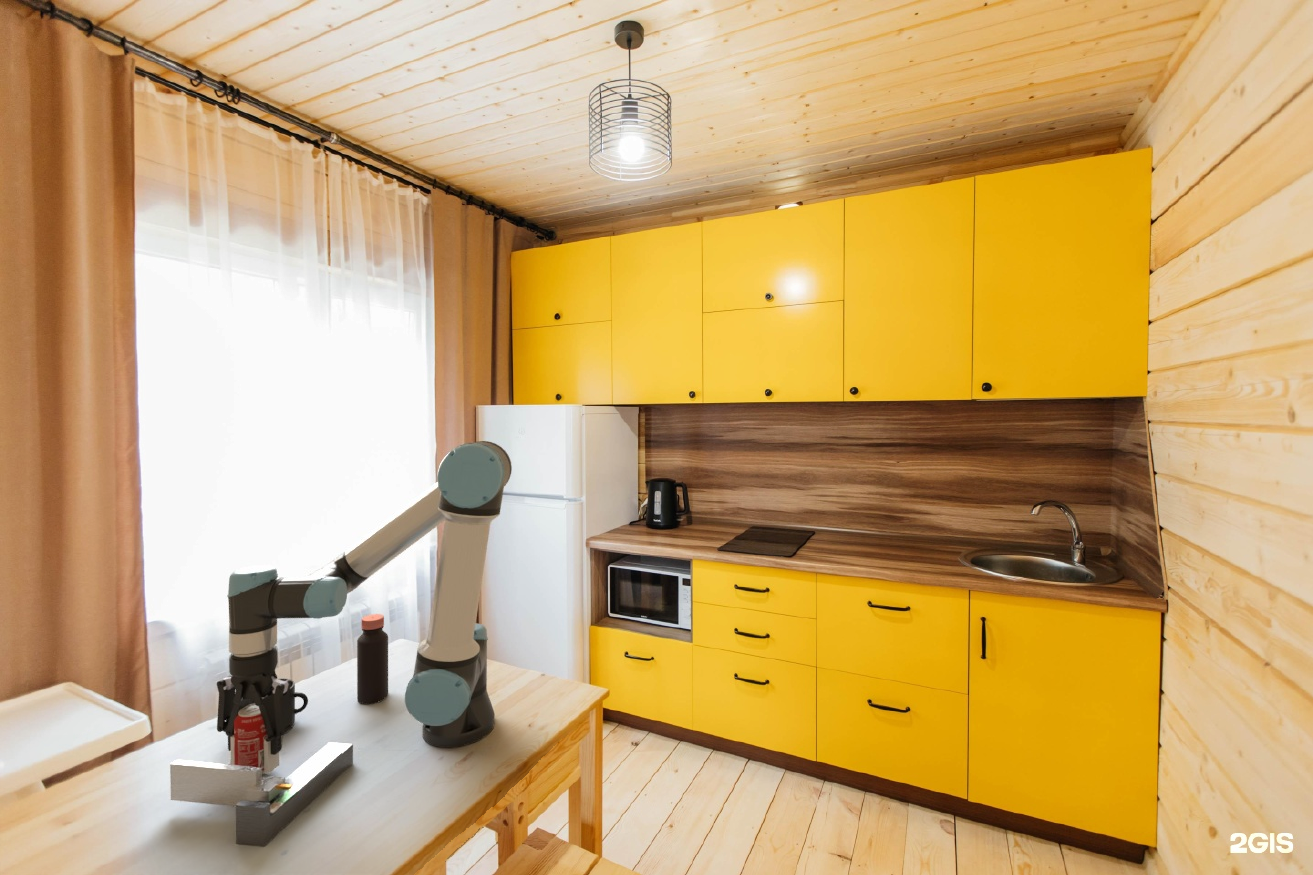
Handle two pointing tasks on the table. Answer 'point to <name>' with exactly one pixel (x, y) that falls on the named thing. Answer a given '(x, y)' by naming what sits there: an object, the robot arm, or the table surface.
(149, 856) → the table surface
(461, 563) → the robot arm
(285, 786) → the gauge paddle
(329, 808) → the table surface
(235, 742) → the beverage can
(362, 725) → the table surface
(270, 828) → the grey long bar
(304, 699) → the mug
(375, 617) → the bottle
